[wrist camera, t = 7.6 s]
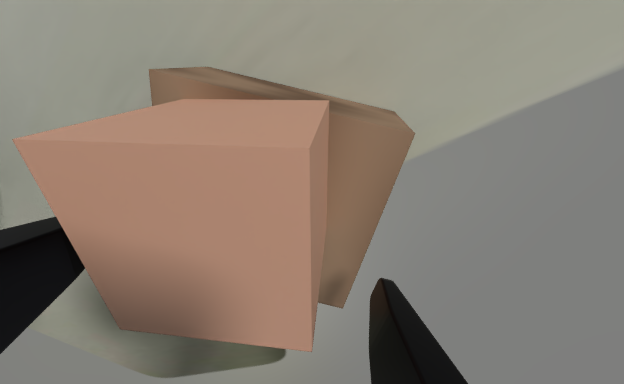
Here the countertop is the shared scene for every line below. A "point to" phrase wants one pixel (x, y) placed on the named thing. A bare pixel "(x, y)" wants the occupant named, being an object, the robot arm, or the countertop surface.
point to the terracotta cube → (197, 214)
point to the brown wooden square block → (341, 161)
